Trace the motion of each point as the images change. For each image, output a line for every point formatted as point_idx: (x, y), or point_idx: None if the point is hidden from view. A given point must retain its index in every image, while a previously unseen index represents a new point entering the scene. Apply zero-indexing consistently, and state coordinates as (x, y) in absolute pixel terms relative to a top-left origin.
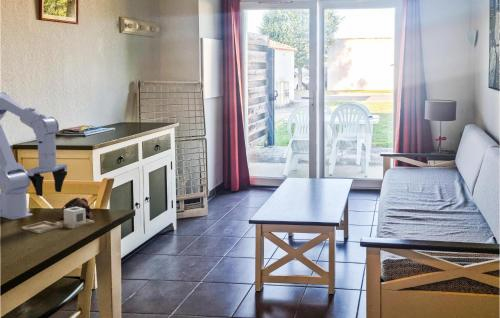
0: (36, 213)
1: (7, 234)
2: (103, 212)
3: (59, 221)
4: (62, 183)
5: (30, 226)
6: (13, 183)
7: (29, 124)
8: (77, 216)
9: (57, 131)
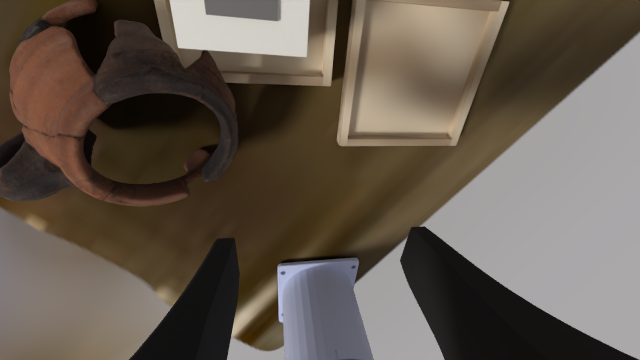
0: (249, 276)
1: (518, 129)
2: None
3: (307, 77)
4: (178, 306)
5: (419, 136)
6: None
7: None
8: None
9: None
